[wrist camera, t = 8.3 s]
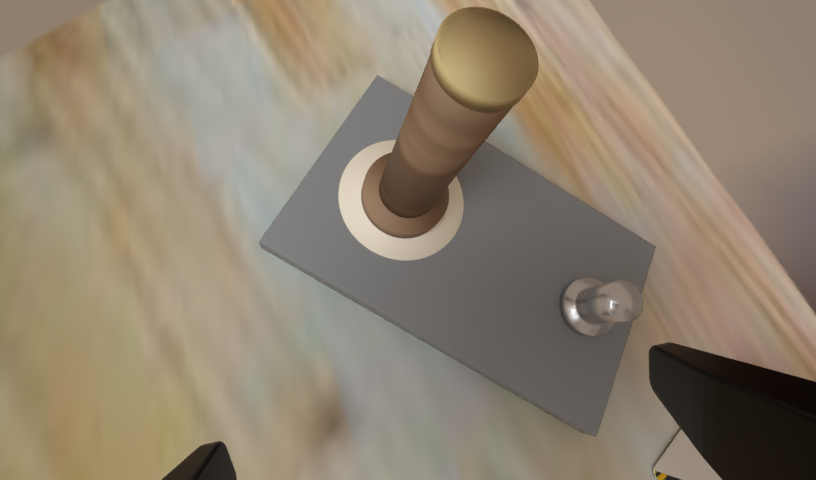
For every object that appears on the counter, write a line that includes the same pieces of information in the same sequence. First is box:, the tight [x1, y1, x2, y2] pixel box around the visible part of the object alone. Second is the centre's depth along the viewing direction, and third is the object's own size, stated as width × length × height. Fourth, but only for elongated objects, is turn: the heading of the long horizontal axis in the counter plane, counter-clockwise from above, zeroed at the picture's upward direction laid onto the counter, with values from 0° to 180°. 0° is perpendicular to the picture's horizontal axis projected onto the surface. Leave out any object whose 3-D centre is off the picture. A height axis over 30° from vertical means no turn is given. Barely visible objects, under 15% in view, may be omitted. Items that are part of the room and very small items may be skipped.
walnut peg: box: [361, 7, 538, 239], centre depth 17 cm, size 5×5×12 cm
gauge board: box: [259, 75, 656, 436], centre depth 23 cm, size 12×20×1 cm, turn 62°
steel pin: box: [559, 278, 643, 336], centre depth 22 cm, size 3×3×3 cm
